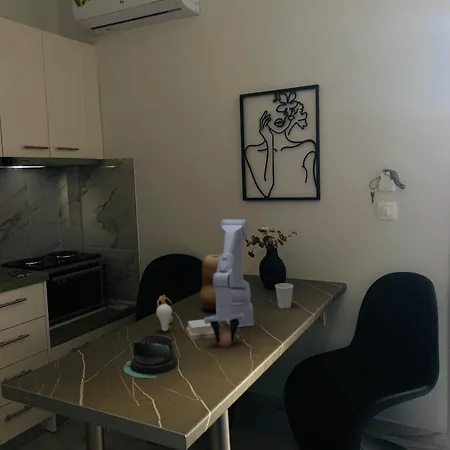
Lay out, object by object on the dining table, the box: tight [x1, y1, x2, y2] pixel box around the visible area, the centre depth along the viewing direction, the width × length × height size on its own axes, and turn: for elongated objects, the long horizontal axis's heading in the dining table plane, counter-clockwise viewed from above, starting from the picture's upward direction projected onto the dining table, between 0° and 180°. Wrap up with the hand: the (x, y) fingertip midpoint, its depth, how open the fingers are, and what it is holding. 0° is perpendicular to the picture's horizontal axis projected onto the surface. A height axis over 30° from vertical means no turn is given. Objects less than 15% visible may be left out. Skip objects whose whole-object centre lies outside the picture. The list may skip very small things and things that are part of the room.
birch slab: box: [185, 326, 216, 341], centre depth 184 cm, size 10×10×2 cm
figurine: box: [156, 294, 174, 324], centre depth 198 cm, size 8×6×12 cm
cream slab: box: [187, 319, 213, 334], centre depth 184 cm, size 8×8×2 cm
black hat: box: [123, 335, 180, 379], centre depth 156 cm, size 20×20×9 cm
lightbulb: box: [156, 303, 173, 332], centre depth 188 cm, size 6×6×11 cm
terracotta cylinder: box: [217, 328, 232, 347], centre depth 173 cm, size 5×5×5 cm
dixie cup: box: [274, 282, 294, 310], centre depth 216 cm, size 8×8×10 cm
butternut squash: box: [199, 253, 221, 311], centre depth 214 cm, size 14×13×25 cm
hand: (224, 340), depth 173 cm, fingers open, 5 cm apart
